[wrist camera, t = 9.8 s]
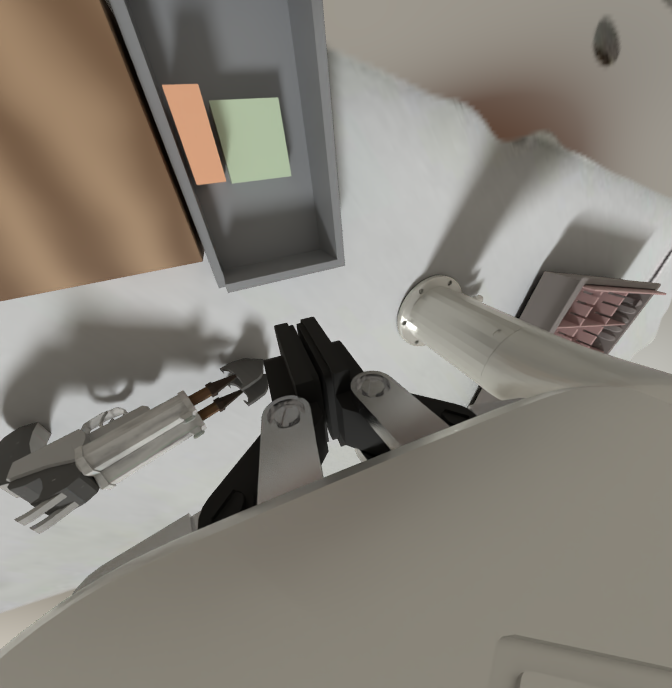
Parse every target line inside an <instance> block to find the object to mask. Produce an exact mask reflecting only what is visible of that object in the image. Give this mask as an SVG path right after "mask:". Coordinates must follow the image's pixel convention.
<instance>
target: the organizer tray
mask: <svg viewBox="0 0 672 688" xmlns="http://www.w3.org/2000/svg"><path fill="white" fill-rule="evenodd" d="M660 286H661V284H659V283H649V282H639V281H629V280H623V279H617V278H607V277H597V276H588V275H578V274H568V273H558V272H549V271H544V273H543V275H542V277H541V279H540V281H539V283H538V285H537V286H536V288H535V290H534V292H533V294H532V296H531V298H530V300H529V301H528V303H527V305H526V307H525V309H524V311H523V313H522V315H521V316H520V318H519V319H520V320H522V321H525V322H527V323H529V324H532V325H534V326H536V327H539V328H541V329H543V330H546V331H548V332H550V333H553V334H555V335H557V336H560V337H562V338H565V339H567V340H570V341H572V342H575V343H577V344H580V345H582V346H585V347H587V348H590V349H593V350H596V351H599V352H602V353H605V354H609V352H610V351H611V350H612V348H613V347H614V346H615V344H616V343H617V342H618V341H619V339H620V338H621V337H622V335H623V334H624V333H625V331H626V330H627V329H628V327H629V326H630V325H631V324H632V322H633V321H634V320H635V318H636V317H637V316H638V314H639V313H640V312H641V310H642V309H643V308H644V307H645V305H646V304H647V303H648V301H649V300H650V299H651V297H652V296H653V295H654V294H657V295H666V293H663V292H659V291H657V290H658V288H659V287H660ZM494 401H501V400H500V399H498V398H496V397H494V396H493V395H491V394H490V393H489V392H487V391H486V390H485V389H483V388H482V389H481V391H480V393H479V395H478V397H477V399H476V401H475V403H474V404H480V403H487V402H494Z"/></svg>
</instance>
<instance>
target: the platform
mask: <svg viewBox="0 0 672 688" xmlns="http://www.w3.org/2000/svg"><path fill="white" fill-rule="evenodd" d="M203 256H204V248H203V245H202V243H201V240H200V237H199V235H198V232H197V230H196V227H195V224H194V222H193V219H192V217H191V214H190V211H189V209H188V206H187V203H186V201H185V198H184V196H183V193H182V190H181V188H180V185H179V183H178V180H177V177H176V175H175V172H174V169H173V167H172V164H171V162H170V159H169V156H168V154H167V151H166V149H165V146H164V143H163V141H162V138H161V135H160V133H159V130H158V128H157V125H156V122H155V120H154V117H153V115H152V112H151V109H150V107H149V104H148V102H147V99H146V96H145V94H144V91H143V88H142V86H141V83H140V81H139V78H138V75H137V73H136V70H135V68H134V65H133V62H132V60H131V57H130V54H129V52H128V49H127V47H126V44H125V41H124V39H123V36H122V34H121V31H120V28H119V26H118V23H117V21H116V18H115V16H114V15H113V13H112V11H111V10H110V8H109V6H108V5H107V3H106V1H105V0H0V301H4V300H10V299H15V298H20V297H25V296H30V295H35V294H40V293H45V292H50V291H55V290H60V289H65V288H70V287H75V286H80V285H86V284H91V283H96V282H101V281H106V280H111V279H116V278H121V277H126V276H131V275H136V274H141V273H146V272H151V271H156V270H161V269H167V268H172V267H177V266H182V265H187V264H192V263H197V262H202V261H203Z"/></svg>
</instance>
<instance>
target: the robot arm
mask: <svg viewBox="0 0 672 688" xmlns="http://www.w3.org/2000/svg"><path fill="white" fill-rule="evenodd" d="M482 301H483V297H482V296H481V295H477V296H474V297H470V296H468V295H465V294H463V293H462V290H461V287H460V285H459V284H458V282H457V281H456V280H454V279H453V278H450V277H448V276H444V275H436V276H432V277H429V278H427V279H425V280H423V281H422V282H420V283H419V284H417V285H416V286H415V287H414V288H413V289H412V290H411V291H410V292H409V294H408V295H407V296H406V298H405V300H404V301H403V303H402V305H401V308H400V310H399V314H398V320H397V326H398V331H399V334H400V336H401V337H402V338H403V339H404V340H405V341H406V342H407V343H409V344H411V345H413V346H425V345H427V346H428V347H429V348H430V349H432V350H433V351H434V352H436V353H437V354H438V355H440V356H441V357H442V358H444V359H445V360H446V361H448V362H449V363H450V364H452V365H453V366H454V367H456V368H457V369H458V370H460V371H461V372H462V373H464V374H465V375H466V376H467V377H469V378H470V379H471V380H473V381H474V382H475V383H477V384H478V385H479V386H481V387H482V388H483V389H485V390H486V391H487V392H489V393H490V394H491V395H493V396H494V397H496V398H498V399H500V400H501V401H494V402H487V403H480V404H473V405H469V407H468V409H467V408H465V407H463V406H460V405H457V404H454V403H449V402H445V401H441V400H437V399H433V398H428V397H424V396H420V395H416V394H411V393H409V392H408V391H407V390H406V389H405V388H403V387H402V386H401V385H400V384H399V383H397V382H396V381H395V380H394V379H393V378H391V377H390V376H389V375H387V374H385V373H382V372H379V371H366V372H363V370H362V369H361V368H360V366H359V365H358V364H357V362H356V361H355V360H354V358H353V357H352V356H351V354H350V353H349V352H348V350H347V349H346V348H345V346H344V345H343V344H342V343H341V342H340V341H335V342H331V341H330V340H329V338H328V337H327V335H326V334H325V332H324V331H323V329H322V328H321V327H320V325H319V324H318V322H317V321H316V319H315V318H314V317H310V318H305V319H301V323H299V324H297V331H298V334H297V332H296V330H295V328H294V326H293V325H290V326H288V324H287V323H284V324H279V325H275V326H274V329H275V333H276V337H277V341H278V345H279V350H280V354H281V356H278V357H274V358H270V359H267V360H263V361H264V366H265V371H266V375H267V380H268V384H269V389H270V393H271V398H272V402H271V403H270V404H269V405H268V406H267V407H266V408H265V410H264V411H263V414H262V420H261V434H260V436H259V437H258V438H257V439H256V441H255V442H254V443H253V444H252V445H251V447H250V448H249V449H248V450H247V452H246V453H245V454H244V455H243V456H242V458H241V459H240V460H239V461H238V463H237V464H236V465H235V466H234V468H233V469H232V470H231V471H230V472H229V474H228V475H227V476H226V477H225V479H224V480H223V481H222V482H221V483H220V485H219V486H218V487H217V488H216V490H215V491H214V492H213V493H212V495H211V496H210V497H209V498H208V500H207V501H206V503H205V504H204V506H203V507H202V510H201V511H200V512H198V513H196V514H195V515H193V516H191V515H190V514H189V513H188V514H187V515H185V516H183V517H182V518H180V519H178V520H177V521H175V522H173V523H172V524H170V525H168V526H167V527H165V528H163V529H162V530H160V531H159V532H157V533H155V534H154V535H152V536H150V537H149V538H147V539H145V540H144V541H142V542H140V543H139V544H137V545H135V546H134V547H132V548H130V549H129V550H127V551H125V552H124V553H122V554H120V555H119V556H117V557H115V558H114V559H112V560H110V561H109V562H107V563H105V564H104V565H102V566H101V567H99V568H98V569H97V570H95V571H94V572H93V573H91V574H90V575H89V576H88V577H87V578H86V579H85V580H84V581H83V582H82V583H81V584H80V585H79V586H78V588H77V589H76V590H75V591H74V593H73V594H72V596H70V597H69V598H67V599H65V600H64V601H62V602H61V603H60V604H58V605H57V606H56V607H54V608H53V609H51V610H50V611H49V612H47V613H46V614H45V615H43V616H42V617H41V618H40V619H38V620H37V621H36V622H34V623H33V624H31V625H30V626H29V627H27V628H26V629H25V630H23V631H22V632H21V633H20V634H18V635H17V636H16V637H14V638H13V639H12V640H11V641H10V642H9V643H7V644H6V645H5V646H4V647H3V648H2V649H0V688H672V374H669V373H666V372H663V371H659V370H656V369H653V368H649V367H646V366H643V365H640V364H636V363H633V362H630V361H626V360H623V359H620V358H617V357H614V356H611V355H608V354H605V353H602V352H599V351H596V350H593V349H590V348H587V347H585V346H582V345H580V344H577V343H575V342H572V341H570V340H567V339H565V338H562V337H560V336H557V335H555V334H553V333H550V332H548V331H546V330H543V329H541V328H539V327H536V326H534V325H532V324H529V323H527V322H525V321H522V320H520V319H518V318H516V317H513V316H511V315H509V314H507V313H504V312H502V311H500V310H497V309H495V308H493V307H491V306H488V305H486V304H484V303H481V302H482ZM327 428H328V430H329V433H330V435H331V437H332V439H333V440H334V439H338V441H339V443H340V445H341V446H344V445H348V446H350V447H353V448H355V452H356V454H357V456H358V458H359V459H360V460H361V463H359V464H356V465H354V466H351V467H349V468H347V469H344V470H342V471H339V472H337V473H334V474H332V475H329V476H327V477H323V472H322V466H321V465H322V463H323V461H324V459H325V457H326V455H327V453H328V445H327V442H329V438H328V432H327Z"/></svg>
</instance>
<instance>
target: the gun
mask: <svg viewBox="0 0 672 688" xmlns="http://www.w3.org/2000/svg"><path fill="white" fill-rule="evenodd" d="M220 370H221V371H222V372H223V373H224V371H229V372H231V373H233V374H234V375H232V376H229V377H226V378H224V379H221V380H218V381H215V382H213V383H211V382H210V383H208V384H206V385H205V386H206V387H205V388H203V389H201V390H199V391H198V392H196V393H194V394H192V395H190V396H189V397H188V396H187V395H186V393H185V392H184V391H181V392H179V393H178V395H177V396H175V397H173V398H171V399H169V400H168V401H166V402H164V403H162V404H160V405H158V406H156V407H155V408H153V409H151V410H150V408H149V407H147V406H141V407H139V408H137V409H135V410H133V411H131V412H129V413H127V412H126V410H124V409H122V408H119V407H117V408H114V409H111V410H109V411H106V412H104V413H101V414H99V415H98V416H96V417H95V418H93V419H91V420H90V421H88V422H86V423H85V424H84V425H83V426H82V428H81V430H79V429H78V430H76V431H74V432H72V433H70V434H68V435H66V436H64V437H62V438H60V439H58V440H56V441H54V442H52V443H50V444H48V445H47V442H48V440H49V438H50V436H51V433H50V432H49V431H47V430H46V429H45V428H44V427H43V426H42V425H41V424H39V423H38V422H37V423H34V424H30V425H27V426H23V427H21V428H18V429H16V430H14V431H13V432H12V433H10V434H9V435H7V436H6V437H4V438H3V439H2V440H1V442H0V488H1V489H3V490H5V491H6V492H8V493H9V494H11V495H13V496H14V497H16V498H18V497H21V498H23V499H24V500H26V501H28V502H29V503H31V505H32V506H34V507H35V508H33V509H32V510H30V511H29V512H27V513H25V514H24V515H22V516H20V517H18V518H16V519H14V520H16V521H17V522H19V523H21V524H22V525H24V526H25V525H26V524H28V523H30V522H32V521H34V520H35V519H37V518H38V517H40V516H41V515H42V514H44V513H45V514H47V515H49V516H48V517H47V518H45V519H44V520H42V521H41V522H39V523H37V524H36V525H34V526H32V527H30V529H32V530H33V531H35V532H37V533H39V534H40V533H42V532H44V531H45V530H47V529H49V528H50V527H51V526H53V525H54V524H56V523H57V522H58V521H60V520H61V519H62V518H64V517H65V516H66V515H68V514H69V513H70V512H71V511H73V510H74V509H76V508H78V507H79V506H81V505H83V504H84V503H86V502H87V501H88V500H90V499H91V498H92V497H93V496H94V495H95V494H96V493H97V492H98V490H99V488H100V489H102V490H111V489H112V488H114V487H115V486H116V484H118V483H119V482H121V481H122V480H124V479H125V478H127V477H129V476H130V475H132V474H133V473H135V472H136V471H138V470H139V469H141V468H143V467H144V466H146V465H147V464H149V463H150V462H152V461H153V460H155V459H157V458H158V457H160V456H161V455H163V454H164V453H166V452H167V451H169V450H171V449H172V448H174V447H175V446H177V445H178V444H180V443H182V442H183V441H185V440H186V439H188V438H189V437H191V436H192V435H194V439H196V438H198V437H199V436H201V435H202V434H204V432H205V431H204V430H205V429H206V425H205V424H204V422H203V420H205V419H207V418H208V417H210V416H211V415H213V414H215V413H216V412H218V411H220V412H221V411H223V410H225V407H227V406H228V405H229V404H230V403H231V402H232V401H234V400H235V399H236V398H237V397H238V396H239V395H241V394H242V393H243V392H244V393H245V394H246V395H247V397H248V402H247V401H244V402H245V403H246V404H247V405H248V406H250V405H251V404H253V403H254V402H256V401H257V400H258V399H260V398H261V397H262V396H264V395H265V394H266V392H267V390H268V380H267V375H266V374H263V360H262V359H248V358H246V359H241V360H238V361H235V362H232V363H230V364H227V365H225V366H224V367H222V368H220ZM227 385H228V386H229V387H230V385H234V386H237V387H238V388H239V389H241V390H238V391H236V392H233V393H231V394H229V395H226V396H224V397H221V398H219V397H218V398H216V399H215V400H213V401H214V403H212V404H210V405H209V406H207V407H205V408H204V409H202V410H200V411H198V412H197V410H196V409H195V407H194V406H195V405H196V404H198V403H200V402H202V401H203V400H205V399H207V398H209V397H210V396H212V397H214V396H216V395H218V392H219V391H221V390H222V389H223V388H224V387H226V386H227ZM230 388H231V387H230ZM121 414H123V416H122V417H120V418H118V419H116V420H114V419H113V418H114V417H116V416H119V415H121ZM111 418H112V419H111ZM109 419H111V420H110V422H109V423H108V424H106V425H104V426H103V422H105V421H107V420H109ZM97 426H100V428H99V429H97V430H95V431H93V432H91V433H90V431H91V430H92V429H94V428H95V427H97Z"/></svg>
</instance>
